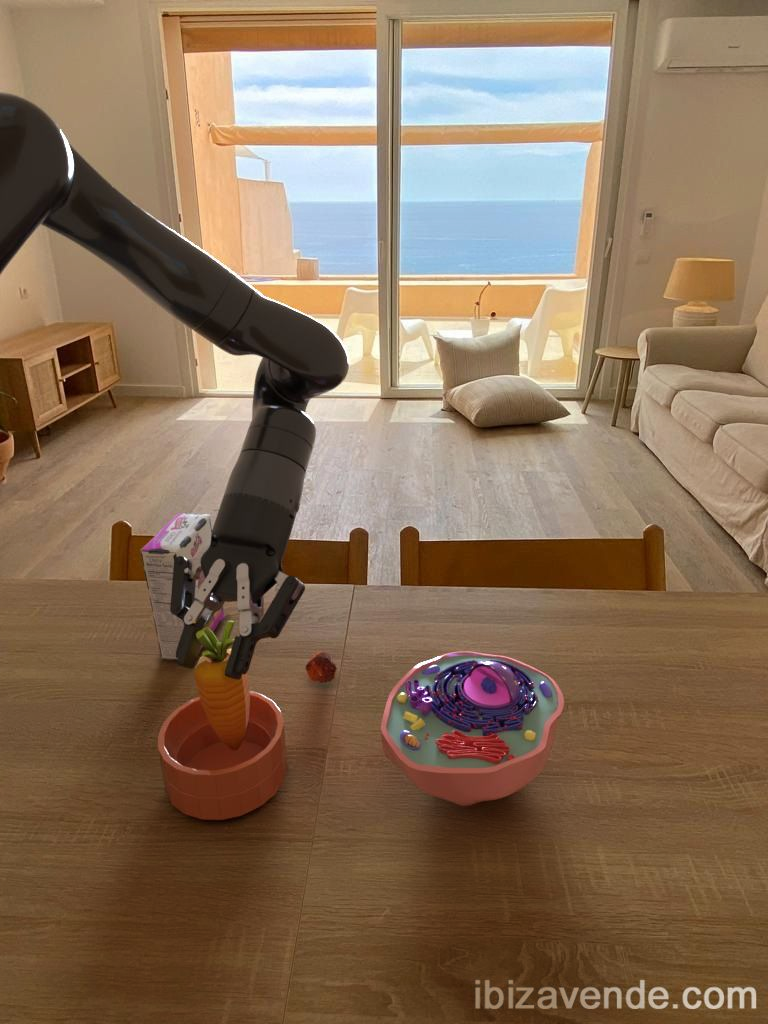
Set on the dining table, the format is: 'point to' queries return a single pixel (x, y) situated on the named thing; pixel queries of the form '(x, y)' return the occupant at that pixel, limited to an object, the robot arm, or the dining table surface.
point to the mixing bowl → (222, 761)
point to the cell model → (471, 725)
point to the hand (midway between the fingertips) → (208, 671)
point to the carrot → (222, 689)
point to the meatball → (321, 668)
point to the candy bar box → (158, 555)
